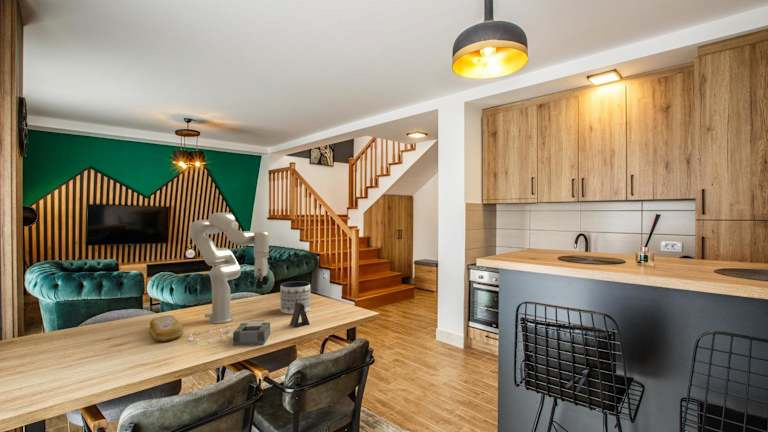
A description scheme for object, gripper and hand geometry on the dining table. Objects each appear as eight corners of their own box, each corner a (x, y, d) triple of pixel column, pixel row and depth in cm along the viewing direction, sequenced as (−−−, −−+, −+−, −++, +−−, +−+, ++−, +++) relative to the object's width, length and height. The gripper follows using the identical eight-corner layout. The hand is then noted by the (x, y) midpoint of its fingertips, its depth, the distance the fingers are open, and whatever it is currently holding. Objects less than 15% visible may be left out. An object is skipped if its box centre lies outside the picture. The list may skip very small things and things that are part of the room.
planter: (283, 306, 237) (283, 281, 237) (311, 306, 239) (311, 281, 239) (278, 315, 219) (278, 287, 219) (309, 314, 221) (309, 287, 221)
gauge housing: (233, 345, 170) (233, 332, 170) (241, 335, 184) (241, 323, 184) (264, 344, 172) (264, 331, 172) (270, 334, 186) (270, 322, 185)
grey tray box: (238, 335, 178) (238, 325, 178) (243, 329, 187) (242, 319, 187) (267, 334, 180) (267, 324, 179) (271, 328, 188) (271, 319, 188)
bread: (173, 325, 199) (173, 311, 199) (188, 338, 180) (188, 322, 180) (144, 331, 190) (144, 316, 190) (156, 345, 171) (156, 328, 171)
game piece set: (229, 329, 195) (229, 321, 195) (231, 341, 177) (231, 333, 177) (188, 334, 186) (188, 326, 186) (186, 347, 168) (186, 339, 168)
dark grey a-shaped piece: (294, 327, 196) (293, 305, 196) (289, 324, 201) (289, 303, 200) (309, 324, 201) (309, 302, 201) (305, 321, 206) (305, 300, 206)
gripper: (258, 253, 204) (259, 283, 204) (249, 256, 186) (250, 290, 187) (272, 252, 204) (272, 283, 205) (264, 256, 187) (265, 290, 187)
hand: (261, 286), depth 196 cm, fingers open, 9 cm apart
